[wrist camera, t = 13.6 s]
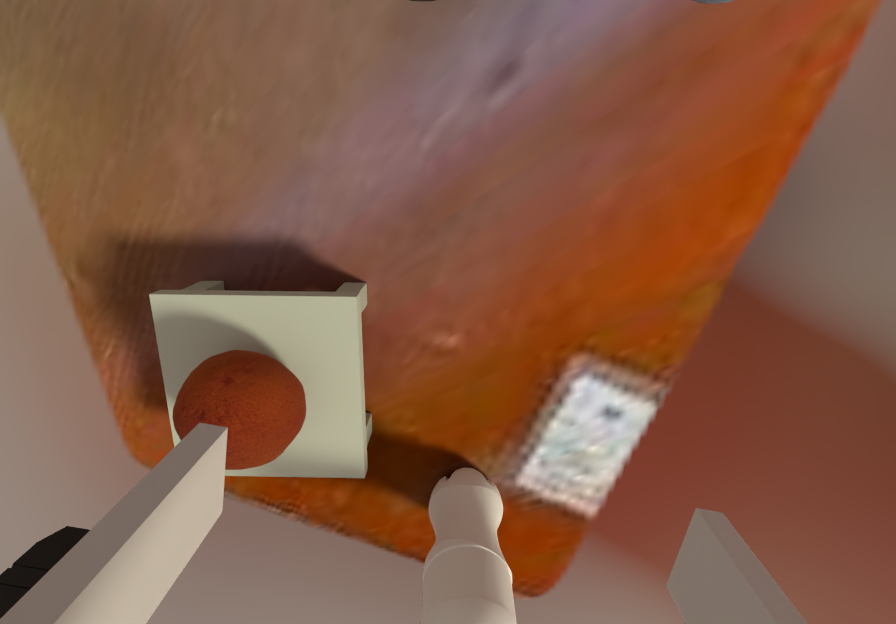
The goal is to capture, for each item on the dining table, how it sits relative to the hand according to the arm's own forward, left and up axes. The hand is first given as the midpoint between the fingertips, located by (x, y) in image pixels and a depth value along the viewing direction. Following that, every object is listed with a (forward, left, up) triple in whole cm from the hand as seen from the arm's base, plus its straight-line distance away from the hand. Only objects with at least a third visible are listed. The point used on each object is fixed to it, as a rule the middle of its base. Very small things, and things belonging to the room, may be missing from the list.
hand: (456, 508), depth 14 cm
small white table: (+11, -14, -32) cm, 36 cm away
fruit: (+11, -14, -25) cm, 31 cm away
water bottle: (+22, +5, -32) cm, 39 cm away
